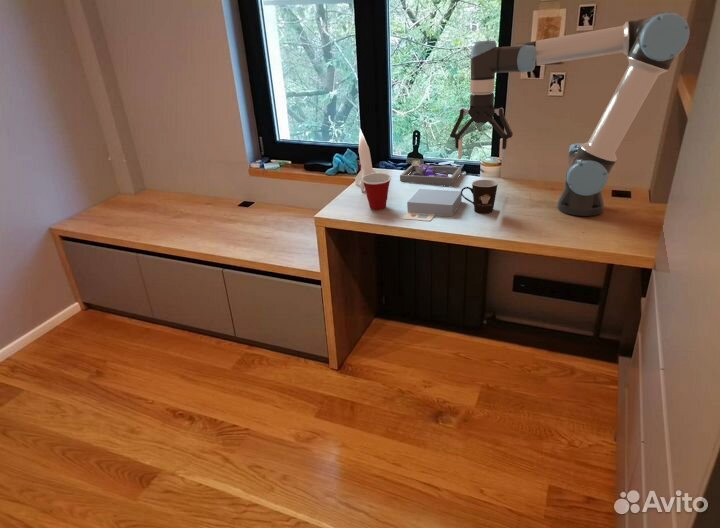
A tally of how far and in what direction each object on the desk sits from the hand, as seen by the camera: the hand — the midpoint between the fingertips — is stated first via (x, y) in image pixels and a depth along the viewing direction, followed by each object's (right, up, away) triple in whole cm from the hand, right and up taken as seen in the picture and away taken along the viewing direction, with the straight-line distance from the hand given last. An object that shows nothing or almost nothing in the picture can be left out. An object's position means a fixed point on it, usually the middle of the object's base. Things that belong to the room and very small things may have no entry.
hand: (480, 158), depth 177 cm
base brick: (-13, -15, +13) cm, 24 cm away
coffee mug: (+1, -17, +8) cm, 19 cm away
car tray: (-11, 0, +44) cm, 46 cm away
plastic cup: (-34, -16, +15) cm, 41 cm away
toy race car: (-10, -1, +44) cm, 45 cm away
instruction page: (-20, -19, +5) cm, 28 cm away
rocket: (-34, -6, +36) cm, 50 cm away
